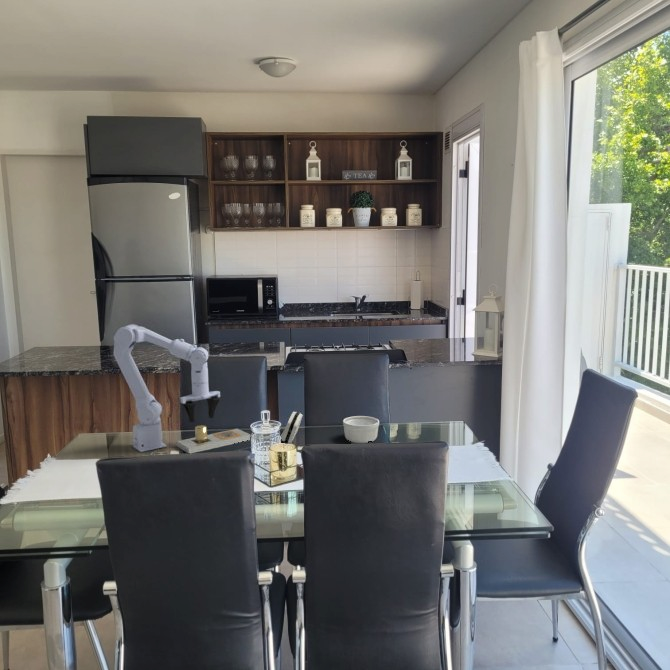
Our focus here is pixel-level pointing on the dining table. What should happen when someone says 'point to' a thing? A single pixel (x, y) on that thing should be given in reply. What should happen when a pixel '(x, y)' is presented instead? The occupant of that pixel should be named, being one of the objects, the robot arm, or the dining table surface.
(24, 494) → the dining table surface
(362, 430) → the ramekin
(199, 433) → the peg
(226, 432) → the grey rectangular board
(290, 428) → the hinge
